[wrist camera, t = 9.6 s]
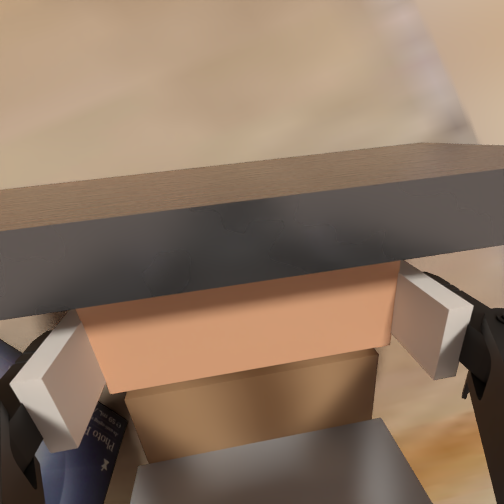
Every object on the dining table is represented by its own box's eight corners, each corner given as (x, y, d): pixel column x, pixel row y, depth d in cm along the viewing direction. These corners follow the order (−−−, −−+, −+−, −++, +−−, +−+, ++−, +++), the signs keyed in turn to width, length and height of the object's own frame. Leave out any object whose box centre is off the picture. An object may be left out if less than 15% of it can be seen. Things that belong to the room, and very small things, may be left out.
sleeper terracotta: (138, 320, 15) (110, 394, 10) (116, 250, 13) (73, 303, 9) (342, 289, 16) (389, 345, 11) (345, 219, 14) (401, 255, 10)
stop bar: (20, 232, 13) (-215, 352, 6) (1, 190, 12) (-297, 268, 5) (417, 182, 15) (614, 228, 8) (422, 142, 14) (649, 150, 7)
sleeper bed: (203, 510, 24) (201, 600, 19) (149, 324, 16) (124, 399, 12) (329, 482, 25) (356, 562, 20) (333, 295, 17) (378, 354, 12)
